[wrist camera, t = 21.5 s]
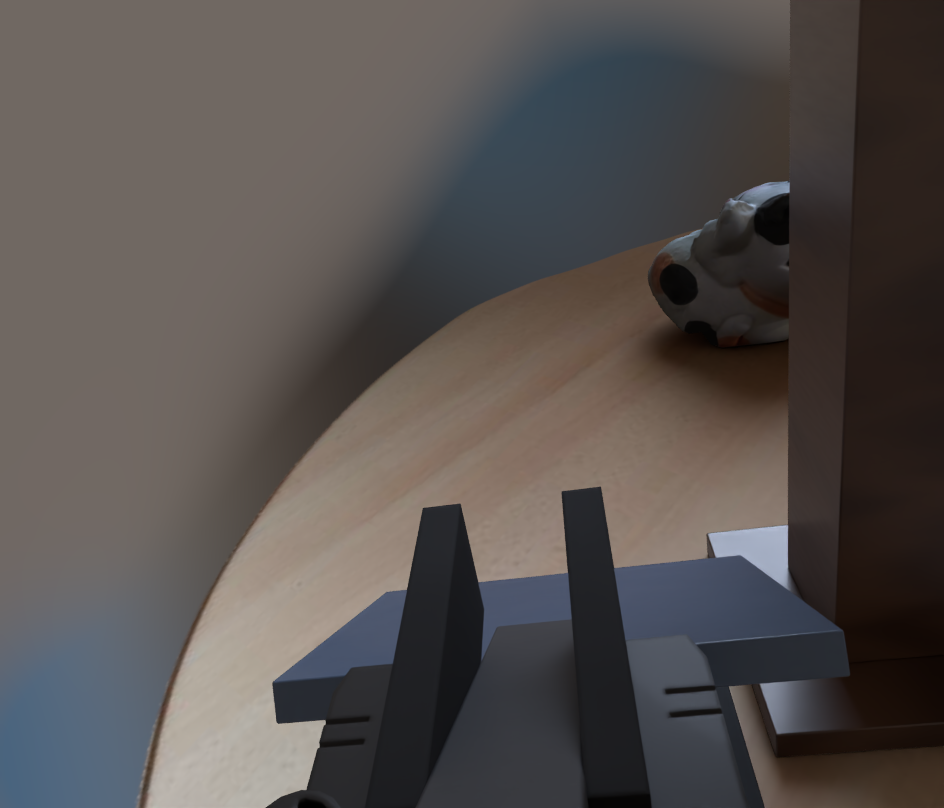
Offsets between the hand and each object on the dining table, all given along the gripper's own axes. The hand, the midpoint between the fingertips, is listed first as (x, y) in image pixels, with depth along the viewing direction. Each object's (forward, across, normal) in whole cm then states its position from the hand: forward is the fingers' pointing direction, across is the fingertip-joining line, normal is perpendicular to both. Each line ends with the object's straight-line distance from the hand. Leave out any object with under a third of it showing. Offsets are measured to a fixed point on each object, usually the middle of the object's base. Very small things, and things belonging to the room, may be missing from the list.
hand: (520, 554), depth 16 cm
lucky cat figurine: (+48, +17, -16) cm, 53 cm away
